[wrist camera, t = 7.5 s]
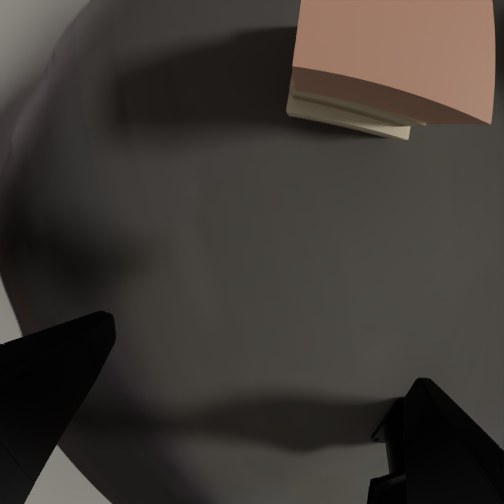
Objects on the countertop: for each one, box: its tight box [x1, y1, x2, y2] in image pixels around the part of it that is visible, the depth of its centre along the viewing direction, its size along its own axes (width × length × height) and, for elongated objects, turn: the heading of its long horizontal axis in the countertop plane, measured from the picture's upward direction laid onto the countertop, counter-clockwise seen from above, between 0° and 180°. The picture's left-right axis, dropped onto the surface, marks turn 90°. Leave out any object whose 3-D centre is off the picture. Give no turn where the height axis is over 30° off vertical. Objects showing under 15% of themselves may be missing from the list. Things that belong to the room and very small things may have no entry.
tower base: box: [286, 70, 411, 140], centre depth 14 cm, size 6×6×4 cm
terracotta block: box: [292, 0, 495, 125], centre depth 6 cm, size 5×5×4 cm
